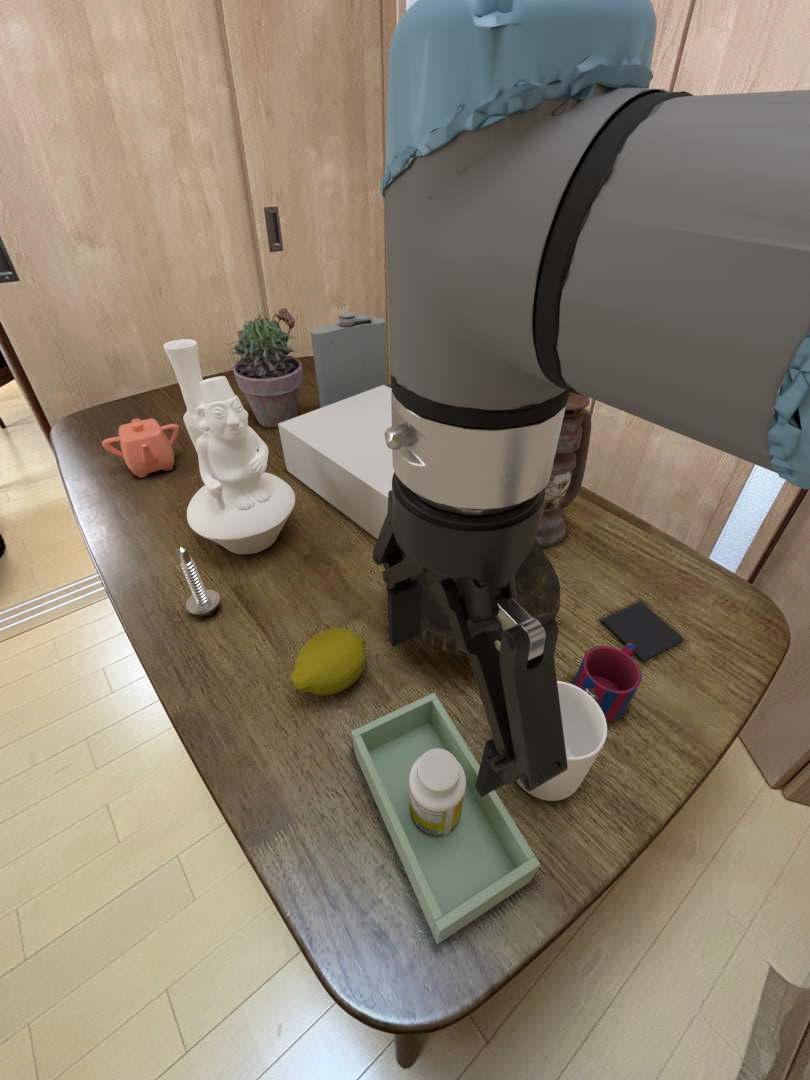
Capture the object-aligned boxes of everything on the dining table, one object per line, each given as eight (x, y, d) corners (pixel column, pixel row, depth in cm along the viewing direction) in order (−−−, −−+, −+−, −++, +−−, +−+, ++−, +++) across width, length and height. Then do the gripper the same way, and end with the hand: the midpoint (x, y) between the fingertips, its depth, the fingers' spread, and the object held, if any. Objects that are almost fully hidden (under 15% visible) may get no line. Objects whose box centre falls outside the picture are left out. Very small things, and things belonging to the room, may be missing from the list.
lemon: (355, 641, 69) (351, 604, 64) (382, 681, 64) (380, 645, 59) (284, 675, 65) (273, 639, 60) (306, 722, 60) (297, 687, 55)
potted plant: (219, 422, 119) (189, 315, 102) (282, 396, 130) (264, 296, 113) (265, 447, 110) (240, 334, 93) (328, 416, 121) (316, 310, 104)
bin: (530, 881, 47) (540, 864, 44) (437, 944, 44) (440, 931, 40) (432, 715, 60) (434, 692, 57) (354, 753, 57) (351, 731, 53)
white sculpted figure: (213, 586, 77) (140, 398, 56) (184, 515, 91) (117, 342, 70) (316, 548, 84) (286, 367, 63) (274, 487, 98) (238, 322, 77)
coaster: (683, 640, 69) (684, 639, 69) (642, 662, 66) (643, 660, 66) (639, 603, 74) (640, 601, 74) (600, 621, 72) (601, 619, 71)
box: (384, 428, 116) (383, 384, 109) (497, 490, 97) (504, 442, 90) (286, 470, 102) (277, 423, 95) (395, 552, 83) (394, 502, 76)
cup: (559, 694, 63) (571, 664, 58) (605, 655, 67) (619, 624, 63) (603, 733, 59) (620, 704, 54) (649, 688, 63) (667, 658, 59)
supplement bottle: (449, 776, 54) (455, 732, 48) (468, 828, 50) (478, 788, 44) (402, 792, 53) (401, 749, 46) (418, 847, 49) (420, 808, 42)
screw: (223, 619, 72) (189, 625, 71) (223, 595, 76) (190, 602, 75) (198, 555, 64) (159, 562, 63) (199, 533, 67) (163, 539, 66)
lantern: (589, 533, 87) (656, 332, 64) (514, 559, 82) (556, 351, 59) (551, 500, 94) (598, 310, 71) (480, 522, 89) (506, 325, 66)
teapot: (106, 473, 102) (85, 430, 95) (147, 446, 110) (131, 405, 103) (160, 487, 98) (142, 443, 91) (198, 458, 106) (185, 416, 100)
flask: (382, 407, 125) (378, 304, 108) (390, 415, 121) (387, 309, 105) (319, 423, 118) (304, 316, 102) (326, 431, 115) (312, 322, 99)
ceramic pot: (366, 581, 78) (357, 462, 63) (499, 545, 84) (518, 430, 70) (424, 712, 61) (430, 591, 46) (585, 654, 67) (635, 532, 52)
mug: (520, 696, 62) (535, 646, 55) (597, 772, 55) (625, 726, 48) (471, 733, 59) (480, 685, 52) (546, 821, 51) (568, 778, 44)
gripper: (311, 388, 30) (340, 608, 44) (593, 722, 14) (497, 904, 28) (416, 367, 33) (412, 581, 47) (761, 627, 16) (595, 838, 30)
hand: (444, 701), depth 37 cm, fingers open, 13 cm apart
